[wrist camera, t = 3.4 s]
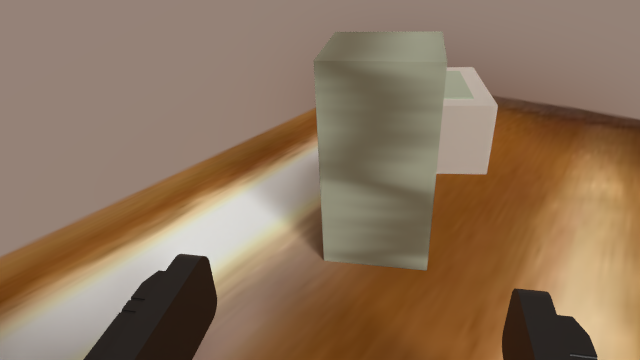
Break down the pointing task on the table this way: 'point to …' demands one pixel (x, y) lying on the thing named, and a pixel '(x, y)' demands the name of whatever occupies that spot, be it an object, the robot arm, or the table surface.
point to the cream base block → (465, 123)
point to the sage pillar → (379, 144)
